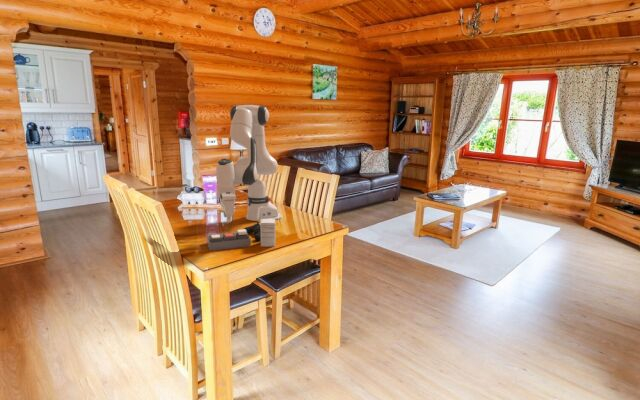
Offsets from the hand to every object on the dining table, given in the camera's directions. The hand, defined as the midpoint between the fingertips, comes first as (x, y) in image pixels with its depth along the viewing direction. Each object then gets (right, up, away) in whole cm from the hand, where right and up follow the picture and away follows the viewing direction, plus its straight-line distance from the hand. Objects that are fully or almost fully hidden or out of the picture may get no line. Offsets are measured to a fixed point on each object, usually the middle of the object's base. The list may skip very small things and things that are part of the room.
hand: (227, 219), depth 188 cm
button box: (+1, -13, +1) cm, 13 cm away
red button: (+2, -9, -2) cm, 10 cm away
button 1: (-4, -9, -5) cm, 12 cm away
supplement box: (+20, -13, +3) cm, 24 cm away
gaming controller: (+13, -10, +15) cm, 22 cm away
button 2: (+8, -7, 0) cm, 10 cm away
